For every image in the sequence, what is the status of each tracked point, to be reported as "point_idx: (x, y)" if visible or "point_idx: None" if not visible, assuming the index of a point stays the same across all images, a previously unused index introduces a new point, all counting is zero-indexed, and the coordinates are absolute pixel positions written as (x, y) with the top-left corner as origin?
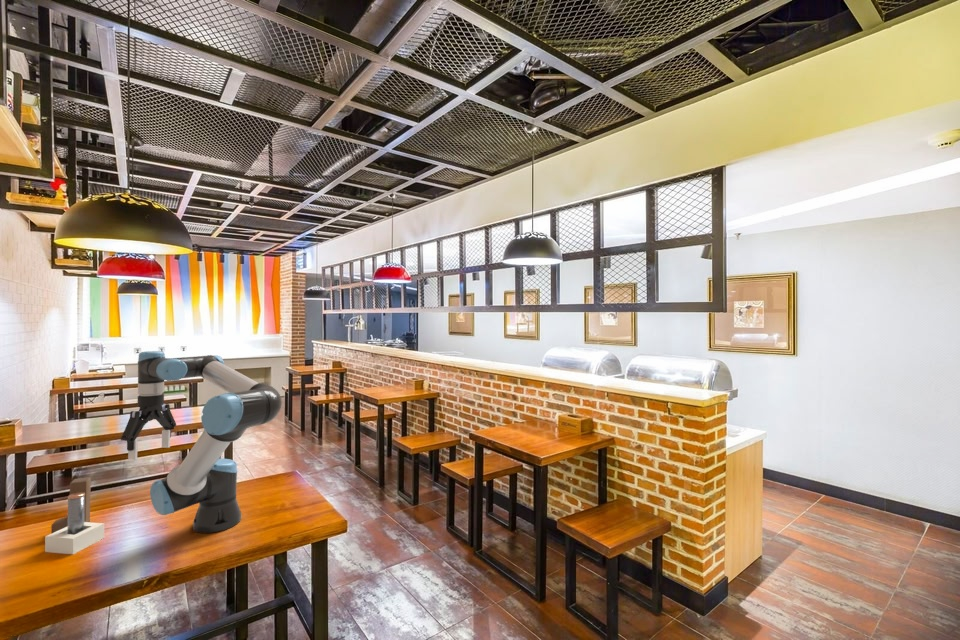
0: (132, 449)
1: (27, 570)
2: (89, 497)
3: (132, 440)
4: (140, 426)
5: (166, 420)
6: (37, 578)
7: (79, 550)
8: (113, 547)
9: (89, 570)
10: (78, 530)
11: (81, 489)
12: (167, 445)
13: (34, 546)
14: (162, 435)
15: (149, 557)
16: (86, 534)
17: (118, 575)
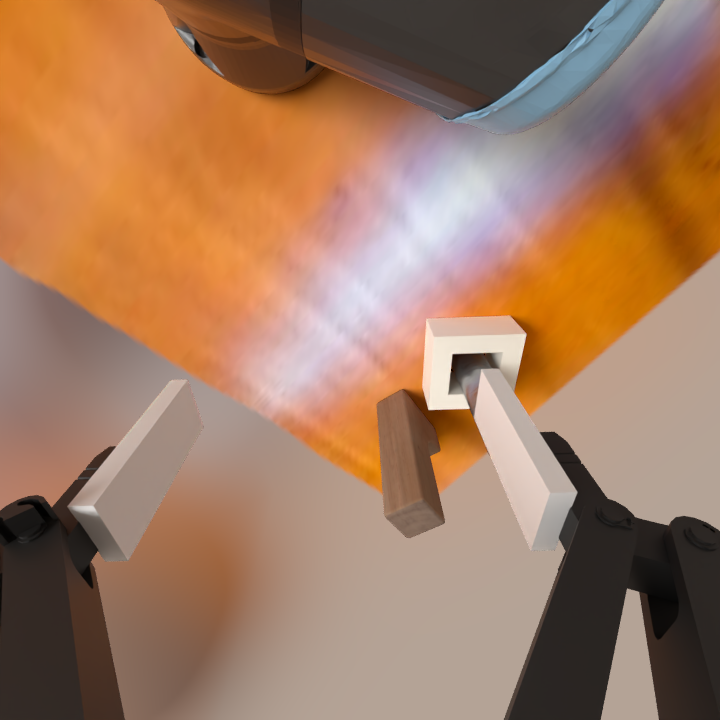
0: (544, 438)
1: (576, 344)
2: (389, 457)
3: (623, 507)
4: (601, 713)
5: (8, 688)
6: (618, 289)
7: (494, 316)
8: (473, 245)
9: (599, 190)
10: (484, 361)
11: (425, 483)
12: (182, 397)
13: (472, 424)
14: (155, 503)
15: None
16: (487, 332)
17: (648, 54)
